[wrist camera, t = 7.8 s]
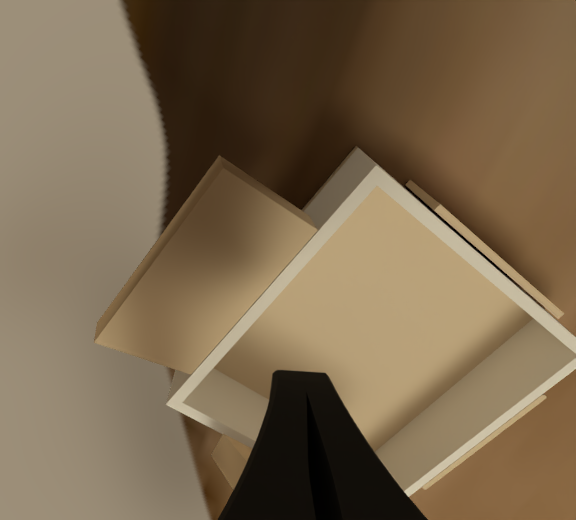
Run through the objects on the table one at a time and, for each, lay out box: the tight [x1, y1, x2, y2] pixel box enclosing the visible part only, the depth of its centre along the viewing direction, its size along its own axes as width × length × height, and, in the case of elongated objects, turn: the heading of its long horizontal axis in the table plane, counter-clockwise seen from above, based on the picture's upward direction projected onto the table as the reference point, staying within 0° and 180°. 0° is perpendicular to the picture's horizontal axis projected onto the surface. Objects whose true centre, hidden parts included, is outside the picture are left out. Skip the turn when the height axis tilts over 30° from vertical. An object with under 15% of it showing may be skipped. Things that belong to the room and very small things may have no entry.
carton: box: [166, 146, 576, 497], centre depth 20 cm, size 13×13×4 cm
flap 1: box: [94, 155, 318, 375], centre depth 14 cm, size 4×8×1 cm, turn 141°
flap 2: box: [211, 434, 252, 490], centre depth 18 cm, size 8×4×1 cm
